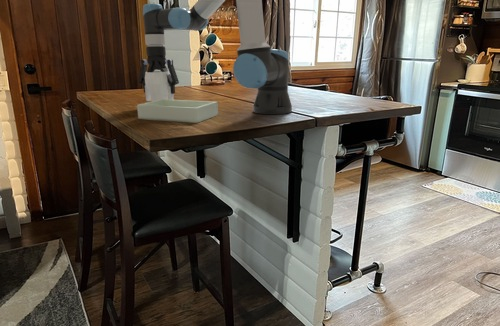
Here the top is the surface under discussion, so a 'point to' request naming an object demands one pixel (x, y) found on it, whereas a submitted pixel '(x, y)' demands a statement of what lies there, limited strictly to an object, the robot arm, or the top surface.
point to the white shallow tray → (178, 110)
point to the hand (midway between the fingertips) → (160, 101)
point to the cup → (157, 84)
